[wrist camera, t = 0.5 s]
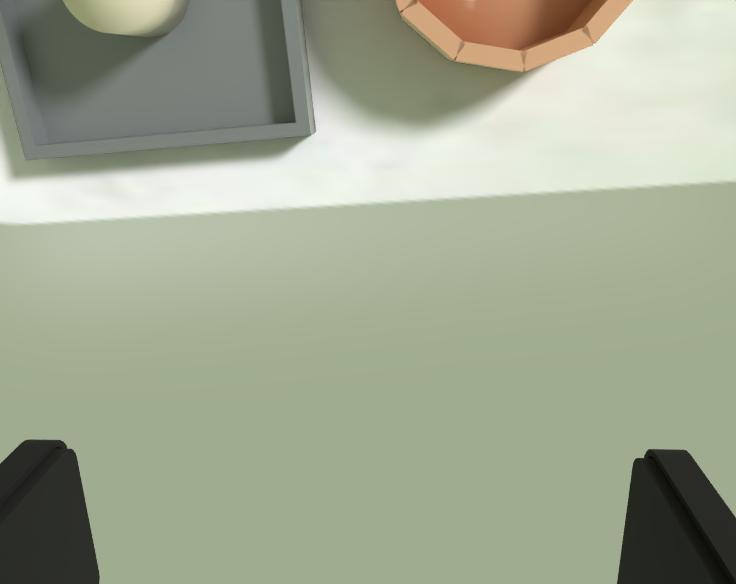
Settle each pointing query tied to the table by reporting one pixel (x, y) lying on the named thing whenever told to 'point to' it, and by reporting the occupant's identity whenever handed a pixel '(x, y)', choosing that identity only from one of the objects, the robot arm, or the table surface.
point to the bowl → (510, 28)
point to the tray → (155, 78)
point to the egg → (129, 15)
